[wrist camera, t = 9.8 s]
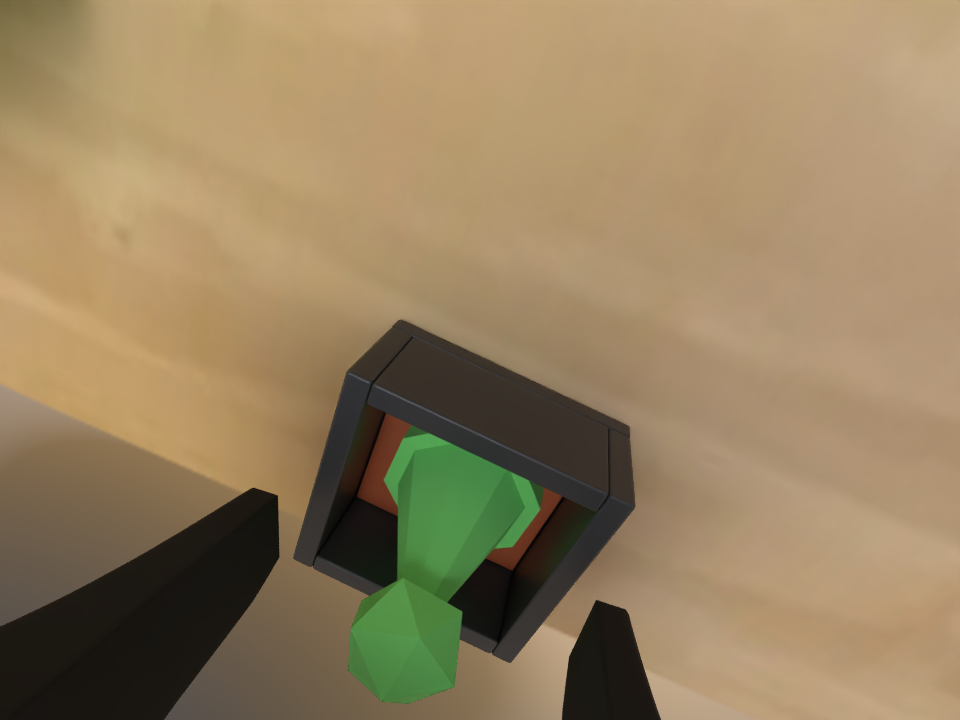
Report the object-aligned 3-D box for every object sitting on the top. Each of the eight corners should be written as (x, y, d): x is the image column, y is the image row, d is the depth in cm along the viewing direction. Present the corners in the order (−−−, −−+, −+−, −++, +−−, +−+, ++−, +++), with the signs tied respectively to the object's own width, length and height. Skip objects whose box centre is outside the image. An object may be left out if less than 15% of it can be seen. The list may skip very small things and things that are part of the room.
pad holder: (630, 425, 12) (637, 508, 10) (526, 574, 16) (510, 665, 13) (399, 318, 13) (345, 370, 10) (343, 486, 16) (291, 559, 13)
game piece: (390, 398, 13) (244, 589, 8) (551, 423, 12) (510, 654, 7) (397, 518, 15) (285, 734, 10) (537, 546, 14) (496, 799, 9)
